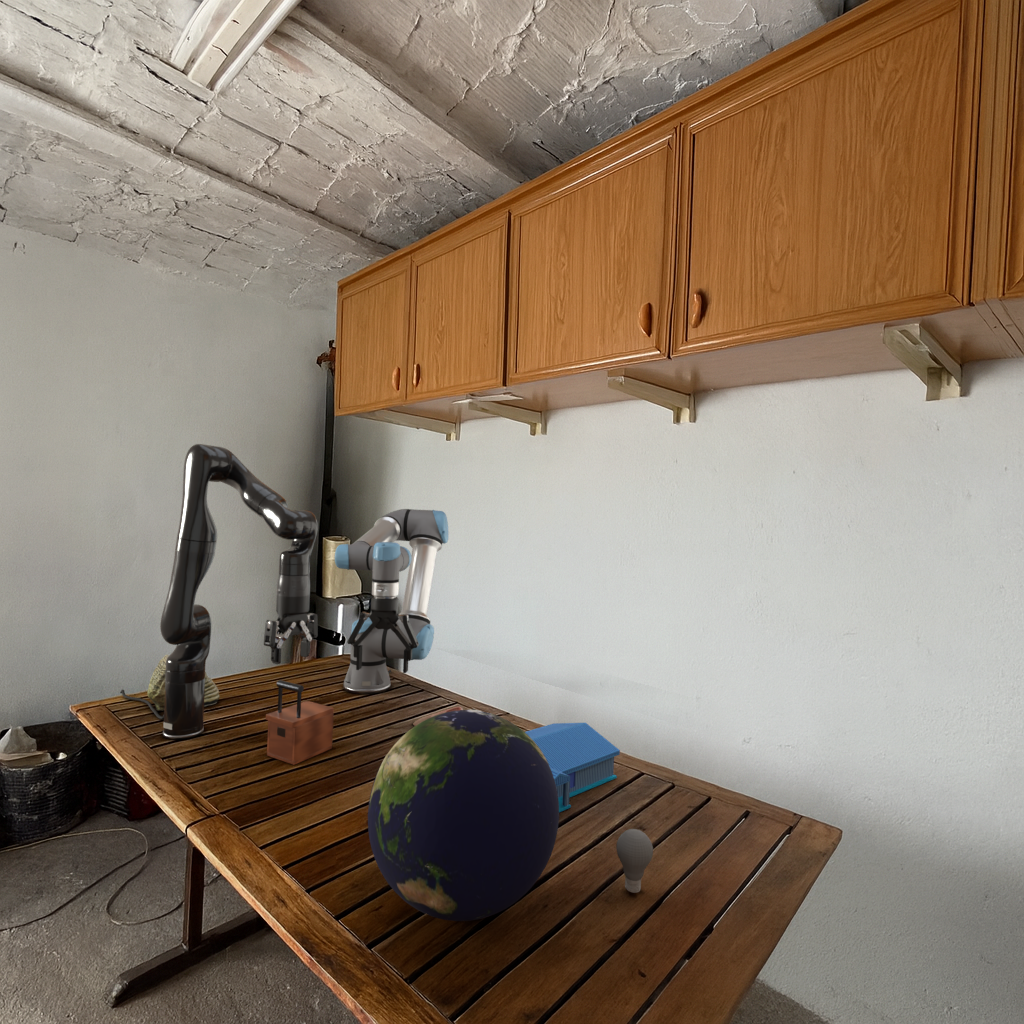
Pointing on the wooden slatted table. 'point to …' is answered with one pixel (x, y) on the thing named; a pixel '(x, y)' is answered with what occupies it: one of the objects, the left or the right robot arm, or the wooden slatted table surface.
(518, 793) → the globe
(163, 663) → the fossil
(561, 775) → the model building
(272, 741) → the chest
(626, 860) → the light bulb
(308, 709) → the lid
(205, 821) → the wooden slatted table surface
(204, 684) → the left robot arm
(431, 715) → the anatomical model
